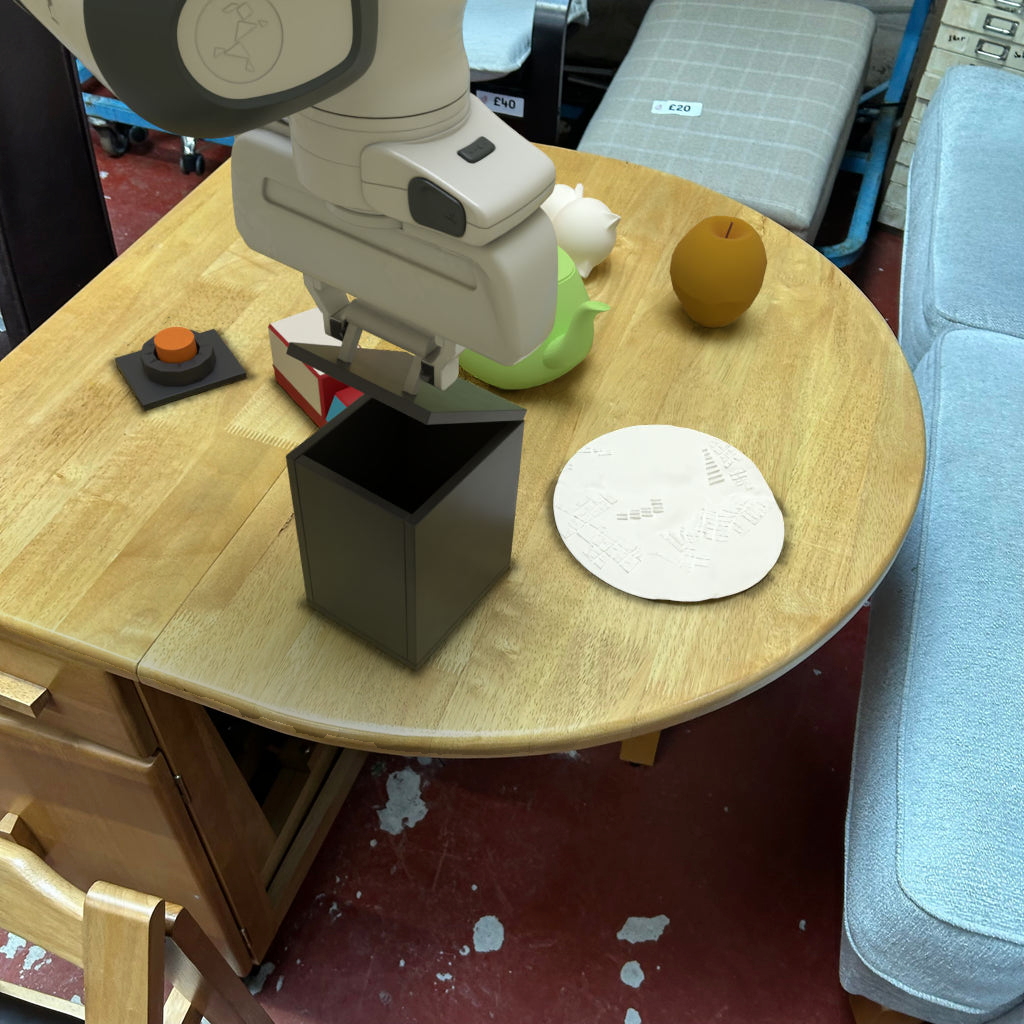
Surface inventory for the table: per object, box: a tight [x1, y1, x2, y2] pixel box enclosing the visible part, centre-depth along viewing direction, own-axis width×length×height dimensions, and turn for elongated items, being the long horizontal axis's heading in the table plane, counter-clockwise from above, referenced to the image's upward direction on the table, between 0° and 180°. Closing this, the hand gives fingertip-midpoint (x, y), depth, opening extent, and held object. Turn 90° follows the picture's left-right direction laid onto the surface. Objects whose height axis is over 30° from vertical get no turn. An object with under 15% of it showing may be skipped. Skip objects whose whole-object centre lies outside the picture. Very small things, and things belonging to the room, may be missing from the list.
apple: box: [669, 215, 768, 328], centre depth 100 cm, size 10×10×12 cm
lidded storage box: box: [285, 394, 525, 672], centre depth 70 cm, size 13×11×16 cm
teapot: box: [459, 245, 612, 391], centre depth 92 cm, size 22×15×13 cm
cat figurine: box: [540, 182, 622, 279], centre depth 109 cm, size 9×11×12 cm
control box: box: [114, 328, 248, 411], centre depth 91 cm, size 10×8×2 cm
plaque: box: [552, 424, 785, 602], centre depth 83 cm, size 20×20×2 cm
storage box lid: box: [286, 298, 528, 425], centre depth 61 cm, size 13×11×5 cm
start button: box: [154, 326, 197, 363], centre depth 90 cm, size 4×4×2 cm
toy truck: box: [267, 306, 364, 429], centre depth 87 cm, size 6×15×7 cm, turn 38°
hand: (391, 357), depth 58 cm, fingers closed on storage box lid, 6 cm apart
